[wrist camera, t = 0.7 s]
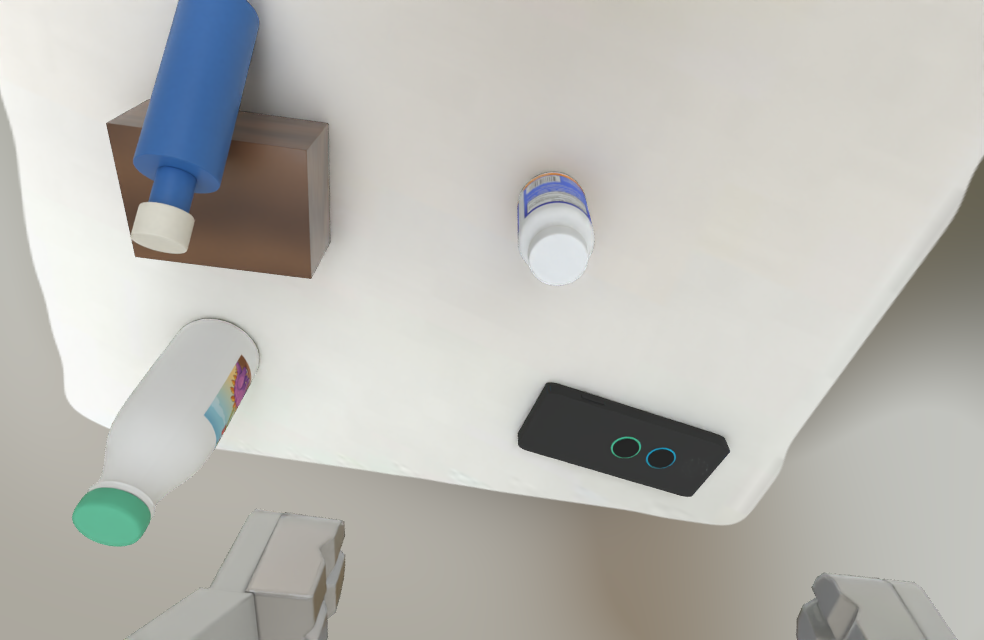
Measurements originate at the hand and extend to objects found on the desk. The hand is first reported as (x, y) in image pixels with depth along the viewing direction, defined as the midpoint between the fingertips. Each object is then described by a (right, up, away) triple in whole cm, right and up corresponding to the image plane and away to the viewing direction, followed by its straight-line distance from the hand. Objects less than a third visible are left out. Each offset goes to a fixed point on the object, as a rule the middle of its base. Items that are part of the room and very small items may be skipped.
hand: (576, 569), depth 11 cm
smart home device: (+12, -8, +53) cm, 55 cm away
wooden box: (-21, +16, +38) cm, 46 cm away
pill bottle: (+3, +14, +39) cm, 41 cm away
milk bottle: (-27, +2, +48) cm, 55 cm away
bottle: (-20, +21, +34) cm, 45 cm away
